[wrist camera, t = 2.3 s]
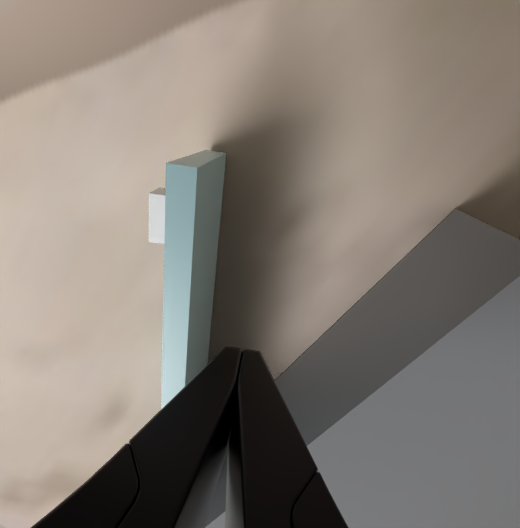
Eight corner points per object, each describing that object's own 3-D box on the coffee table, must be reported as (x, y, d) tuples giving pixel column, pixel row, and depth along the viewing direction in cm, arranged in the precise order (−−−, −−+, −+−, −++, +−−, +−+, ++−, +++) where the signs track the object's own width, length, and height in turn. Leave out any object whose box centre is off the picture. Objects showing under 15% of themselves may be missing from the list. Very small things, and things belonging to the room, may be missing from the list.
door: (201, 447, 19) (178, 543, 15) (169, 442, 19) (136, 537, 15) (228, 153, 13) (201, 168, 8) (180, 146, 13) (126, 157, 8)
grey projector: (352, 528, 22) (373, 648, 17) (207, 444, 19) (181, 554, 14) (654, 339, 15) (839, 445, 10) (487, 178, 13) (619, 213, 8)
